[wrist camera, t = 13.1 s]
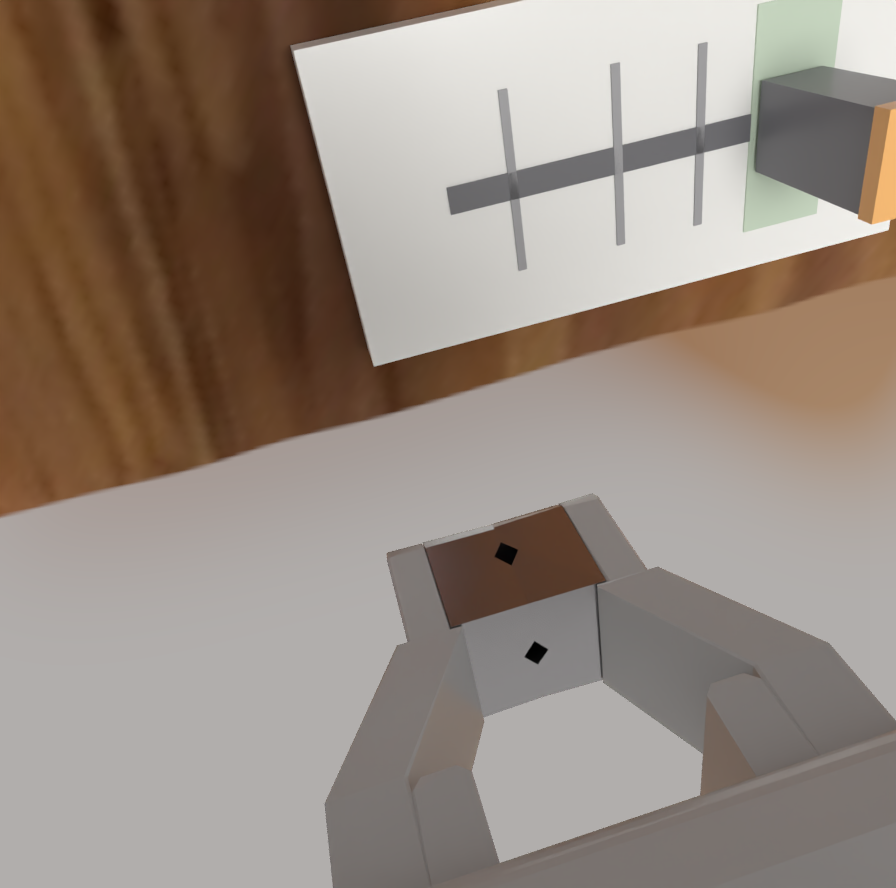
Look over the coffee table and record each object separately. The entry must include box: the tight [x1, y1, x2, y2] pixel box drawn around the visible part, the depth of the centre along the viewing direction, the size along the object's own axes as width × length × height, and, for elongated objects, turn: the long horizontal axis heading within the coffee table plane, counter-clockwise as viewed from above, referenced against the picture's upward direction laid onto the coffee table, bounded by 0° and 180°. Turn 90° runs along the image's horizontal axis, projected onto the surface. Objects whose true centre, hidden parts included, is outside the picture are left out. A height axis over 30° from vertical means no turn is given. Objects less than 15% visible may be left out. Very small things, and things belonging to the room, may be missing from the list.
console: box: [290, 0, 896, 366], centre depth 35 cm, size 28×14×2 cm, turn 100°
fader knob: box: [755, 66, 896, 225], centre depth 31 cm, size 3×4×8 cm
